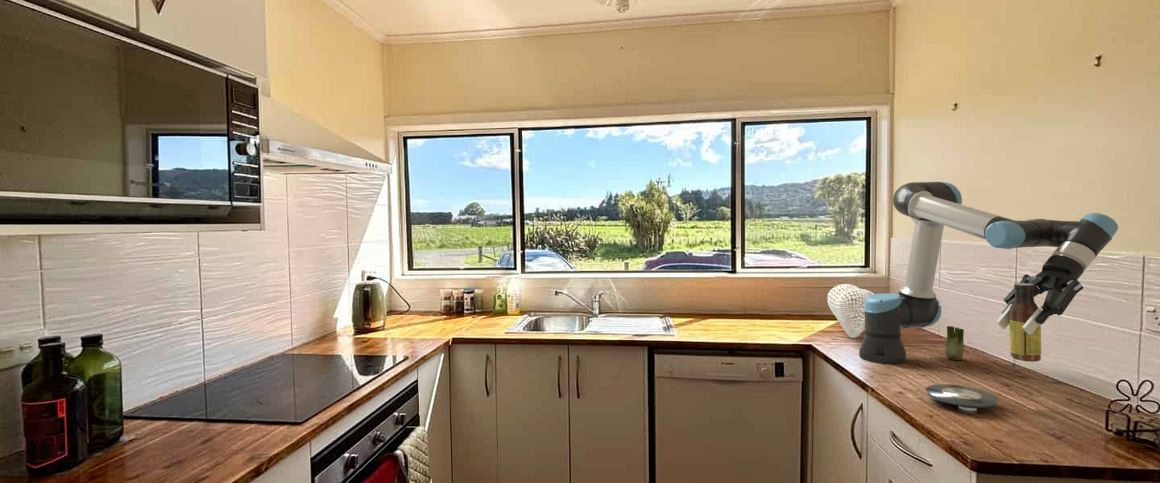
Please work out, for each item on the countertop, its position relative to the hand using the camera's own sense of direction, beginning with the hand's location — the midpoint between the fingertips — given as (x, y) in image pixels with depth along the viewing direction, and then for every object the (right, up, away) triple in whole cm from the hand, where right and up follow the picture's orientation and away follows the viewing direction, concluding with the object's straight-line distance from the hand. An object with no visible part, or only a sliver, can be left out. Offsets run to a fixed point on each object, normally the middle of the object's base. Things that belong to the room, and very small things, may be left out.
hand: (1013, 328), depth 135 cm
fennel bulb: (+22, -20, +52) cm, 60 cm away
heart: (+4, -19, +87) cm, 89 cm away
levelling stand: (-7, -23, +10) cm, 26 cm away
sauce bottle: (+4, -8, +1) cm, 9 cm away
